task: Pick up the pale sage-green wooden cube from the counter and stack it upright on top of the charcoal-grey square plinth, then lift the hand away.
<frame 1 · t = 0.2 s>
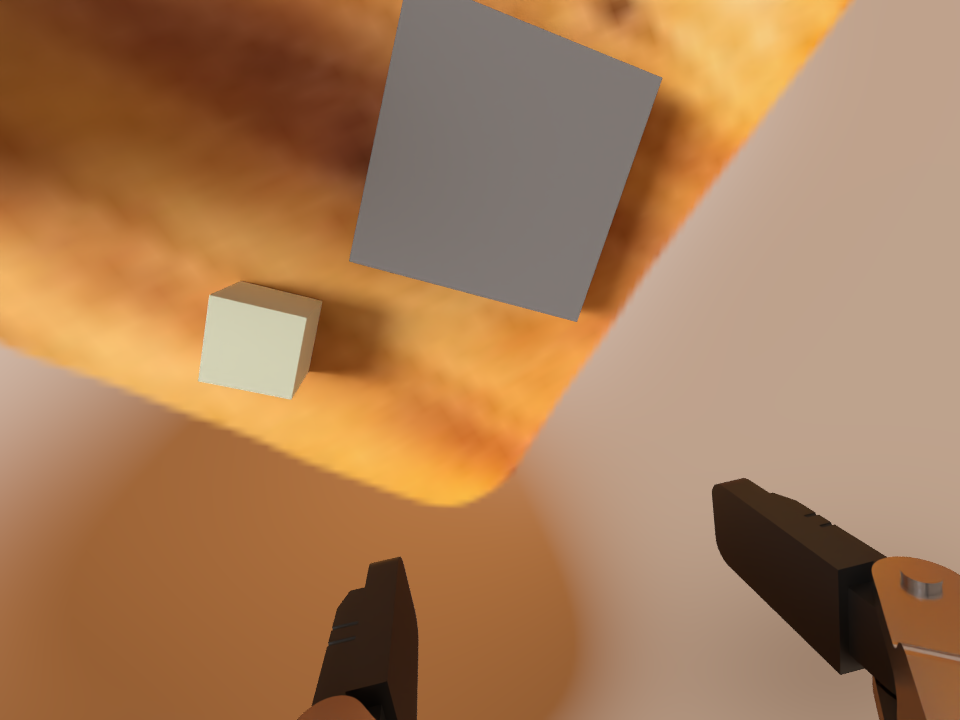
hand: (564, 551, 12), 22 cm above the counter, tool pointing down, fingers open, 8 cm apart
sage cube: (276, 327, 31), on the counter
plinth: (491, 175, 29), on the counter
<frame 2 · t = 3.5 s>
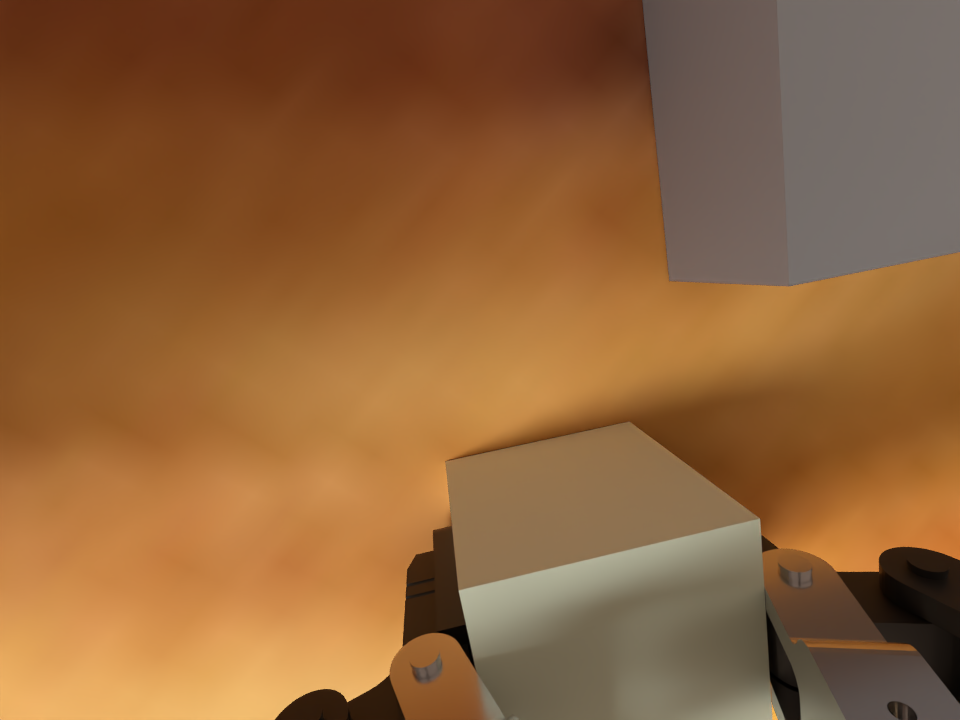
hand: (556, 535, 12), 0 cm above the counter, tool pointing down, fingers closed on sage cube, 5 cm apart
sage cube: (552, 525, 13), on the counter, touching gripper
when the fingers open (6 cm above the counter, at t = 8.5 s): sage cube drops 1 cm, resting on plinth.
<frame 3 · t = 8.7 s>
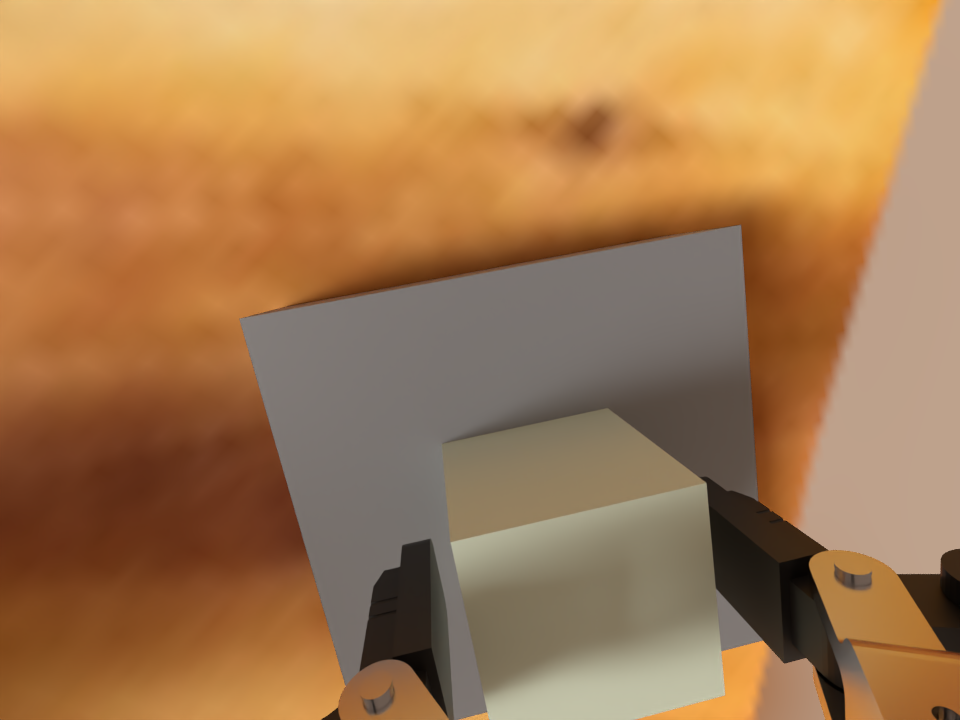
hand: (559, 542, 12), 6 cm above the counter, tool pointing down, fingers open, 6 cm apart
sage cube: (538, 502, 14), point 4 cm above the counter, touching plinth
plinth: (515, 451, 18), on the counter
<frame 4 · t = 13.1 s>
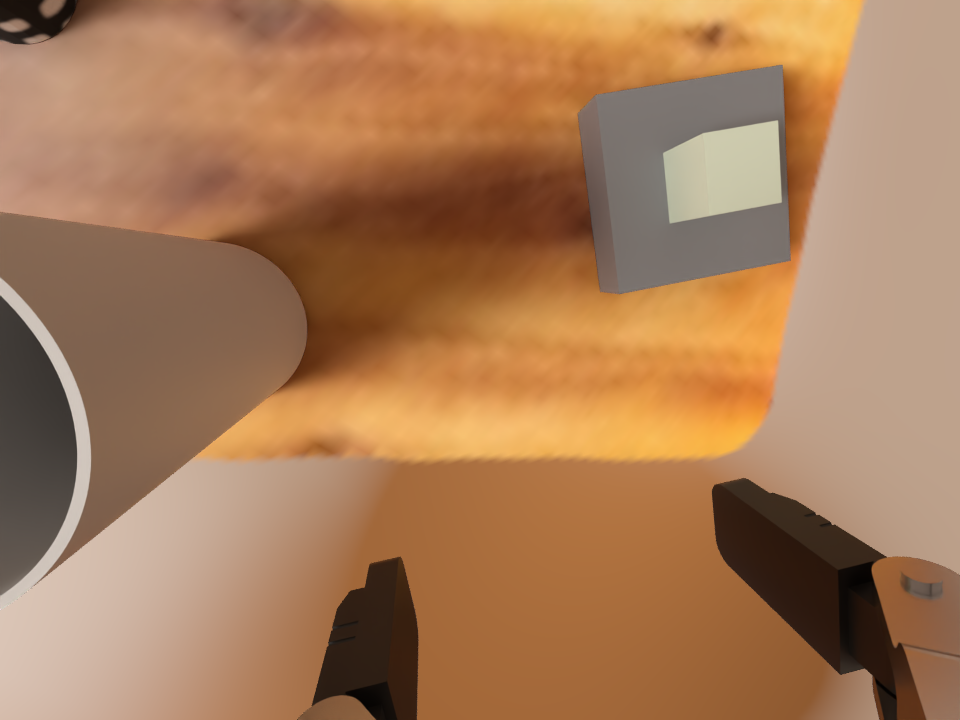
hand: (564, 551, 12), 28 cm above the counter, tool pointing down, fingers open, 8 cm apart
cylinder vase: (228, 324, 37), on the counter
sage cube: (698, 183, 35), point 4 cm above the counter, touching plinth
plinth: (671, 191, 38), on the counter
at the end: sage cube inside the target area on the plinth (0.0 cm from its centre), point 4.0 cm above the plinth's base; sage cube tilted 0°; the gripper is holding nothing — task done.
